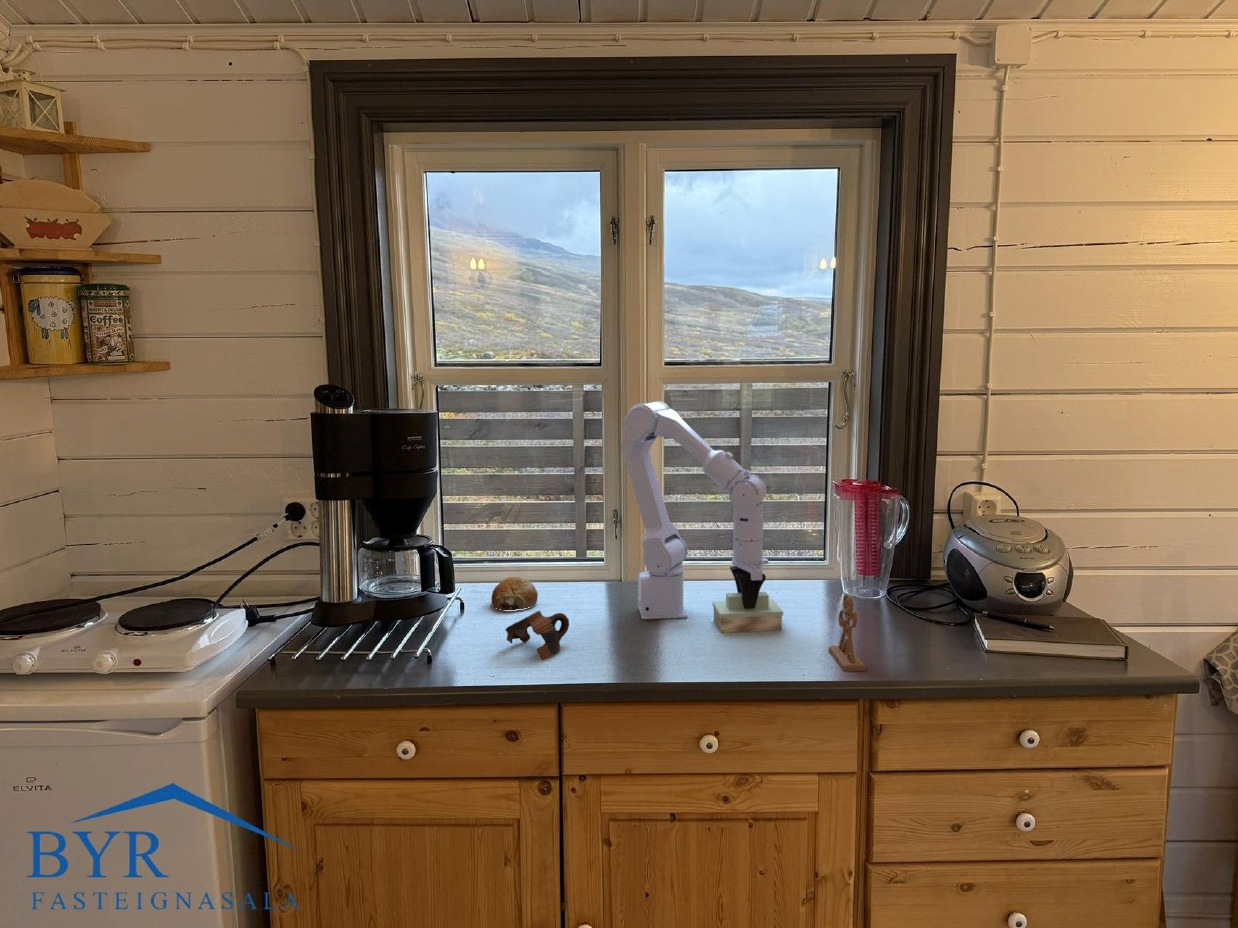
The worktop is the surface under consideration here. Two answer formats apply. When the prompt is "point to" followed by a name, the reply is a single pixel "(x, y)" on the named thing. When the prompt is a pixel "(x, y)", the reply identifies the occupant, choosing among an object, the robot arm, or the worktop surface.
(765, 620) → the box
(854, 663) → the tan tall carved piece
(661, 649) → the worktop surface
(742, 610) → the lid
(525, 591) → the bread roll
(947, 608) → the worktop surface
